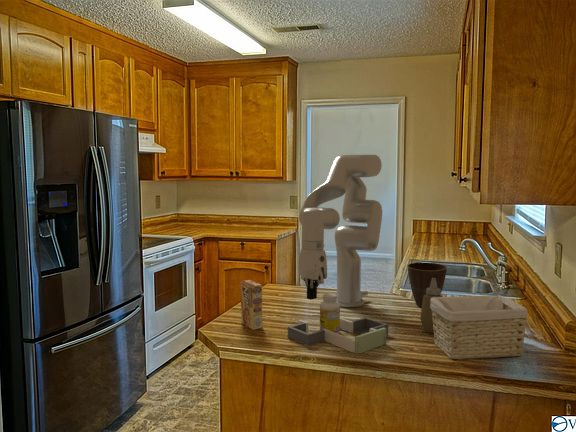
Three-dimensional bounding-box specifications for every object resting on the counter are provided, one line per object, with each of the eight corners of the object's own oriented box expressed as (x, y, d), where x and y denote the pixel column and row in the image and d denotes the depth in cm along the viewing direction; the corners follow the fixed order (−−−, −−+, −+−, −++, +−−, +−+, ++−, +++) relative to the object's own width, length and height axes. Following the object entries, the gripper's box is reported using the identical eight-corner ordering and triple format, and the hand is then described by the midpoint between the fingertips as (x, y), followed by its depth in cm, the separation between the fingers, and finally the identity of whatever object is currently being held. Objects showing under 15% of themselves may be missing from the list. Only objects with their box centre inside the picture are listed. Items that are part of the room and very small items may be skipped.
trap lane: (340, 318, 178) (340, 305, 177) (400, 338, 157) (400, 323, 156) (282, 334, 161) (281, 320, 161) (340, 359, 140) (340, 343, 140)
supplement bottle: (318, 329, 166) (318, 292, 165) (337, 329, 166) (337, 292, 165) (321, 336, 159) (321, 298, 158) (341, 335, 160) (341, 297, 159)
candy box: (263, 328, 168) (262, 284, 166) (252, 330, 166) (252, 286, 164) (250, 321, 175) (250, 279, 174) (240, 323, 173) (239, 281, 171)
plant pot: (440, 313, 183) (441, 271, 182) (401, 307, 191) (402, 267, 189) (449, 304, 196) (451, 264, 194) (413, 298, 204) (414, 261, 202)
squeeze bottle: (445, 328, 167) (446, 276, 165) (444, 336, 159) (446, 281, 157) (420, 325, 170) (422, 274, 168) (419, 333, 162) (420, 280, 160)
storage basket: (447, 361, 139) (448, 311, 137) (427, 341, 155) (428, 295, 153) (528, 359, 140) (530, 309, 139) (500, 339, 157) (502, 294, 155)
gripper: (335, 247, 163) (334, 301, 164) (306, 242, 175) (305, 293, 176) (319, 249, 158) (318, 304, 160) (290, 243, 170) (289, 296, 171)
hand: (311, 298), depth 168 cm, fingers closed
